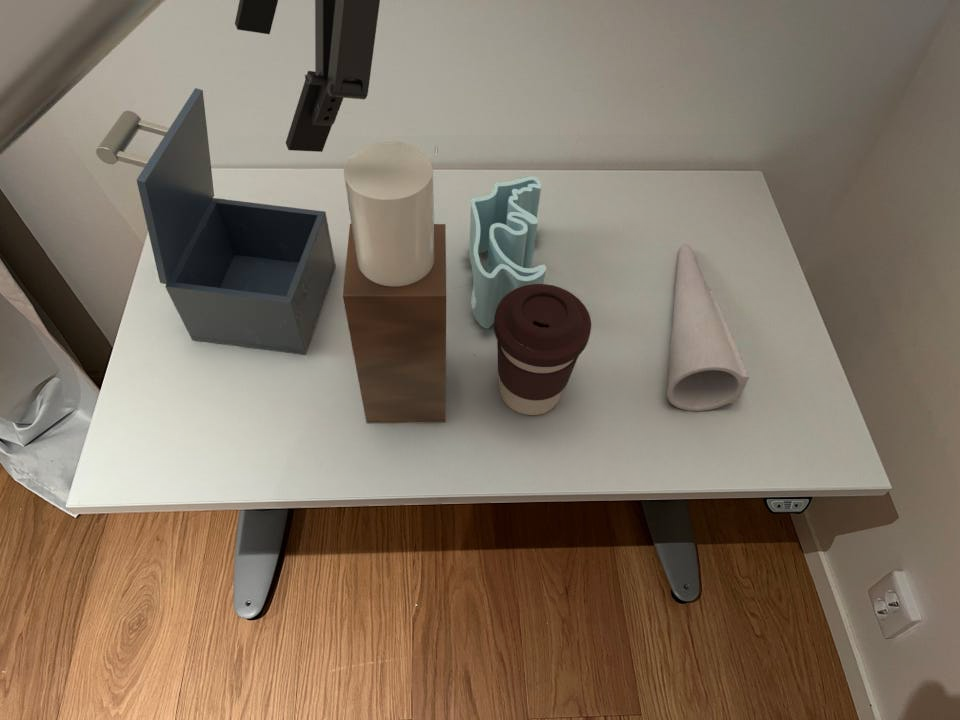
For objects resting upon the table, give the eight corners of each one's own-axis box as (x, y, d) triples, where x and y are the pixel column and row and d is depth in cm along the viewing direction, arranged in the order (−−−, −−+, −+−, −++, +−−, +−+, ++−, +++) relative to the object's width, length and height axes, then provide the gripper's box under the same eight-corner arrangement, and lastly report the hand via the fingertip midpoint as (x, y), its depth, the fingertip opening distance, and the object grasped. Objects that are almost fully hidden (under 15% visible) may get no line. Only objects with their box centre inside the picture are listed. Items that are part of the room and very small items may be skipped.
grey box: (336, 266, 90) (325, 211, 82) (305, 355, 82) (290, 302, 74) (232, 254, 91) (212, 197, 83) (192, 340, 83) (164, 286, 75)
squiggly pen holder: (462, 231, 95) (464, 178, 88) (532, 228, 96) (539, 176, 89) (474, 333, 85) (477, 283, 77) (552, 329, 86) (563, 279, 78)
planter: (635, 222, 91) (676, 367, 74) (699, 223, 92) (754, 367, 74) (624, 267, 97) (660, 411, 80) (685, 267, 97) (733, 411, 80)
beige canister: (382, 298, 59) (372, 211, 51) (343, 249, 62) (327, 160, 54) (449, 266, 62) (450, 178, 53) (408, 220, 65) (403, 131, 57)
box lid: (202, 89, 71) (135, 70, 70) (145, 182, 62) (68, 161, 61) (214, 195, 83) (157, 180, 82) (167, 284, 74) (103, 268, 73)
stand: (366, 423, 77) (342, 296, 59) (370, 358, 82) (349, 223, 64) (446, 422, 77) (446, 295, 60) (445, 357, 83) (445, 223, 65)
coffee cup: (532, 343, 84) (547, 258, 72) (589, 396, 80) (614, 316, 68) (470, 384, 81) (475, 302, 68) (526, 442, 76) (542, 366, 64)
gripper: (504, -70, 37) (374, 203, 52) (347, -298, 46) (275, -7, 61) (382, -108, 32) (278, 203, 48) (234, -351, 41) (187, -23, 57)
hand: (276, 86), depth 54 cm, fingers open, 13 cm apart
